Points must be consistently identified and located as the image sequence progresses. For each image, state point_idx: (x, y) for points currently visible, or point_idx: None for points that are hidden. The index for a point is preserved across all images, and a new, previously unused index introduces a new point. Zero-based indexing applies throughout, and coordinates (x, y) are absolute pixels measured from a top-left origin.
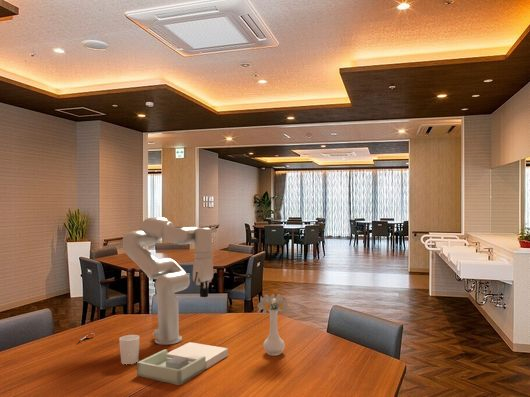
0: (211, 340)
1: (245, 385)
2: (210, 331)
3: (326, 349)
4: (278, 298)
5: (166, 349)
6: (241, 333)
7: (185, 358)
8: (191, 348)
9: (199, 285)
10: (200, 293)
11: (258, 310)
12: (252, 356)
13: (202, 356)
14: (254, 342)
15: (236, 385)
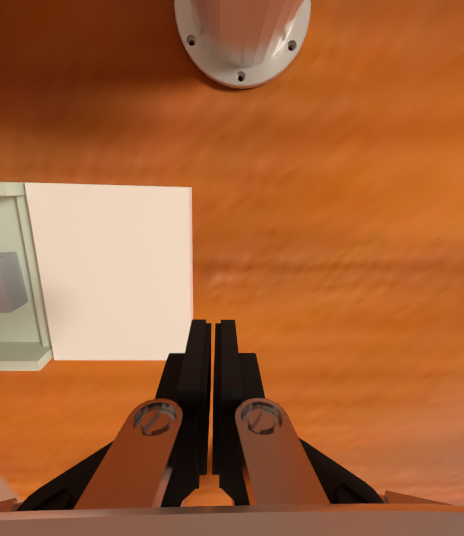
0: (312, 211)
1: (40, 472)
2: (426, 135)
3: None
4: None
5: (5, 191)
6: (425, 276)
7: (7, 304)
8: (127, 243)
9: (71, 488)
10: (189, 342)
11: None
12: None
13: (33, 362)
14: (339, 361)
15: (27, 457)
